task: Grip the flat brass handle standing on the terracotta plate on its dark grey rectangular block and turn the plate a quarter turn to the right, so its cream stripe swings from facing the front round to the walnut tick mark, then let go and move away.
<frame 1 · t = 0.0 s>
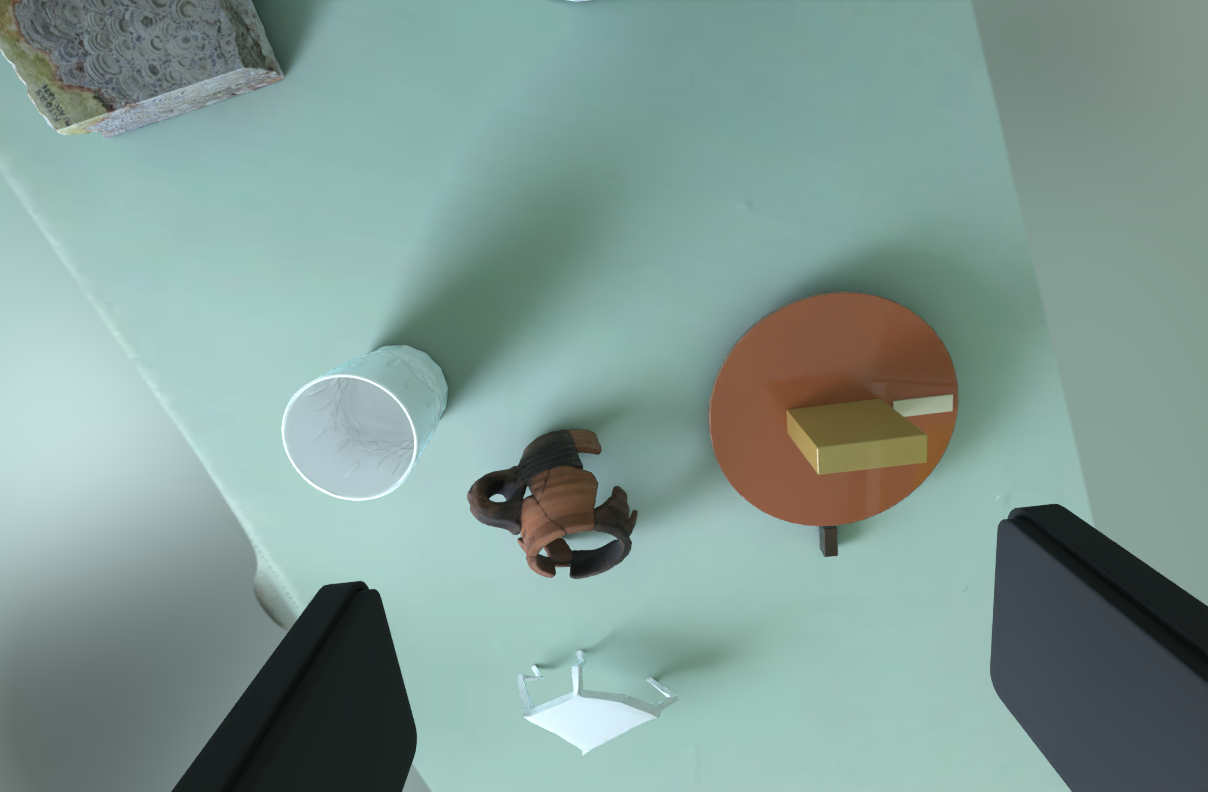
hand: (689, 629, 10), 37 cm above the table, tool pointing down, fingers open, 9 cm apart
pottery mug: (557, 484, 50), on the table
origami figure: (601, 677, 55), on the table
geological specimen: (157, 26, 41), on the table
white cup: (403, 388, 47), on the table
dark grey rectangular block: (821, 404, 47), on the table
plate: (849, 432, 42), point 6 cm above the table, hinge at 0.0°
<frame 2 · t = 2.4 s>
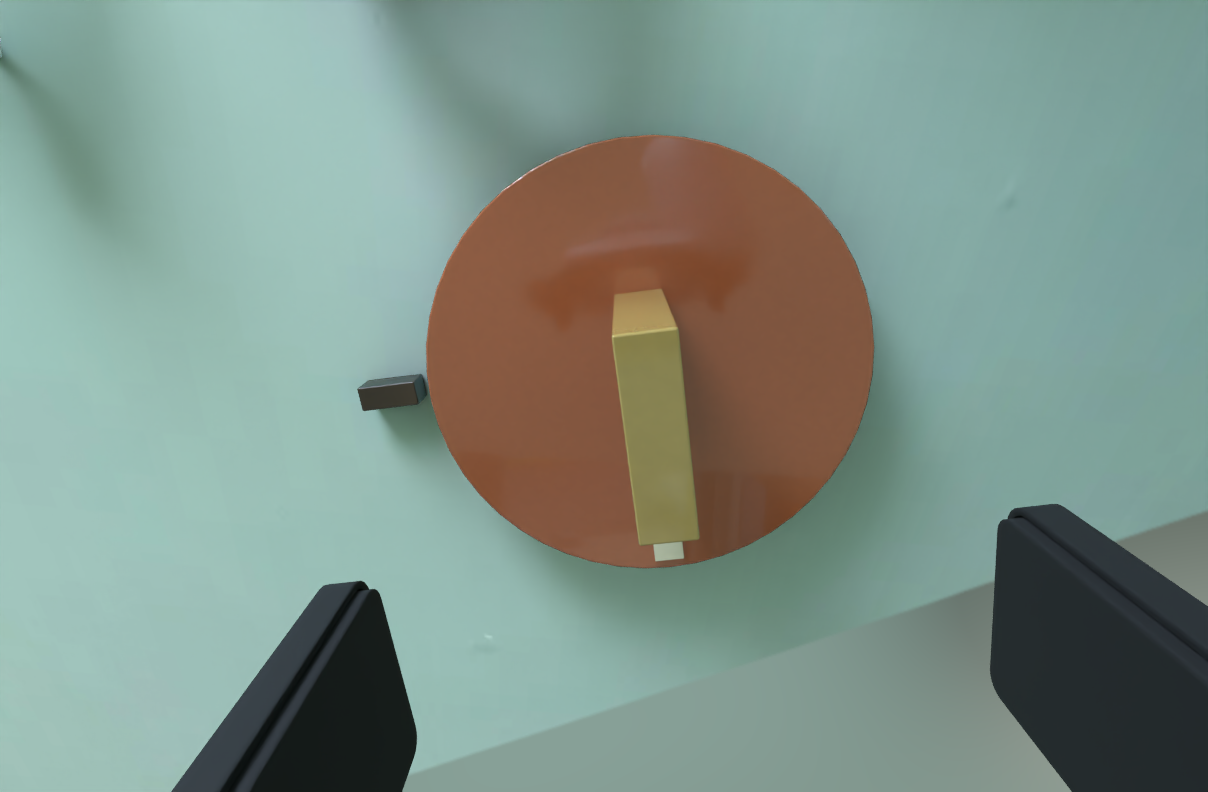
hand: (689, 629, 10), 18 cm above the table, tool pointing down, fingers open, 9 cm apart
dark grey rectangular block: (645, 357, 27), on the table
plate: (651, 400, 22), point 6 cm above the table, hinge at 0.0°
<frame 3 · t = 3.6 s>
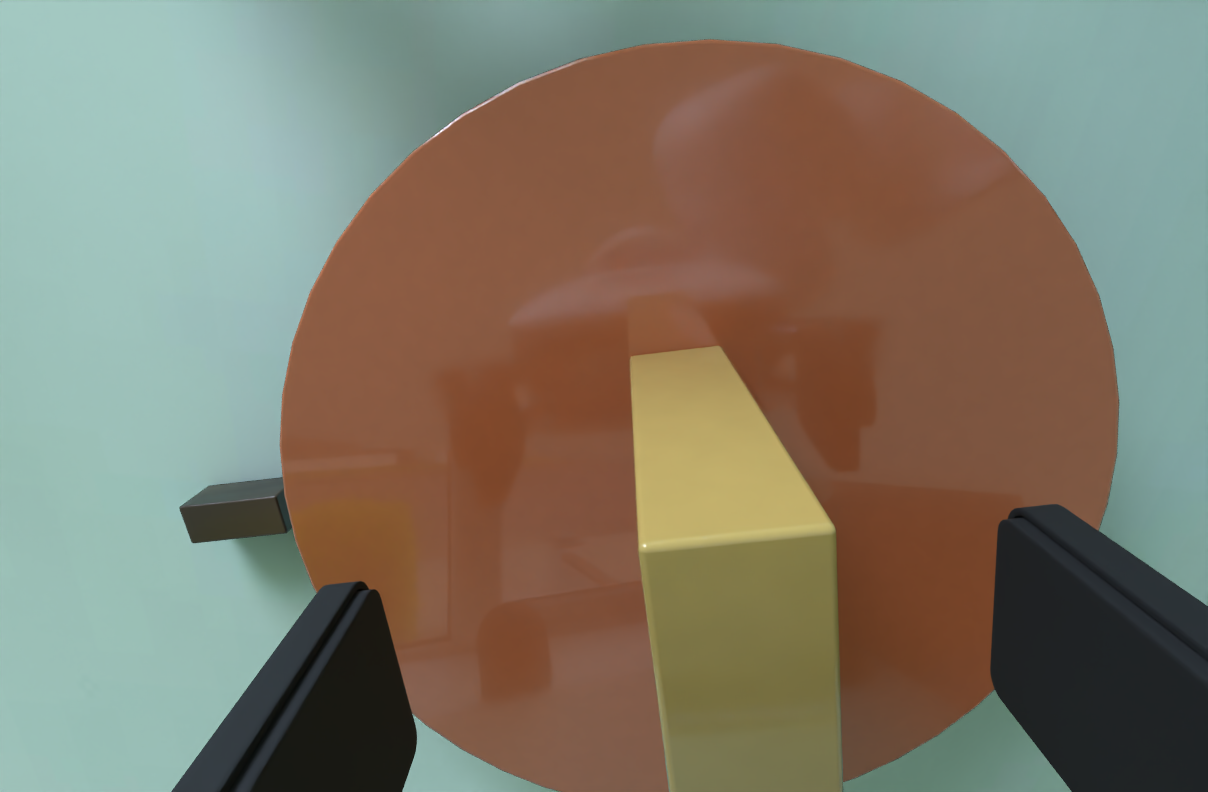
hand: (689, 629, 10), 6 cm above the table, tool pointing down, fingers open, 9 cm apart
dark grey rectangular block: (679, 451, 16), on the table
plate: (709, 589, 10), point 6 cm above the table, hinge at 0.0°
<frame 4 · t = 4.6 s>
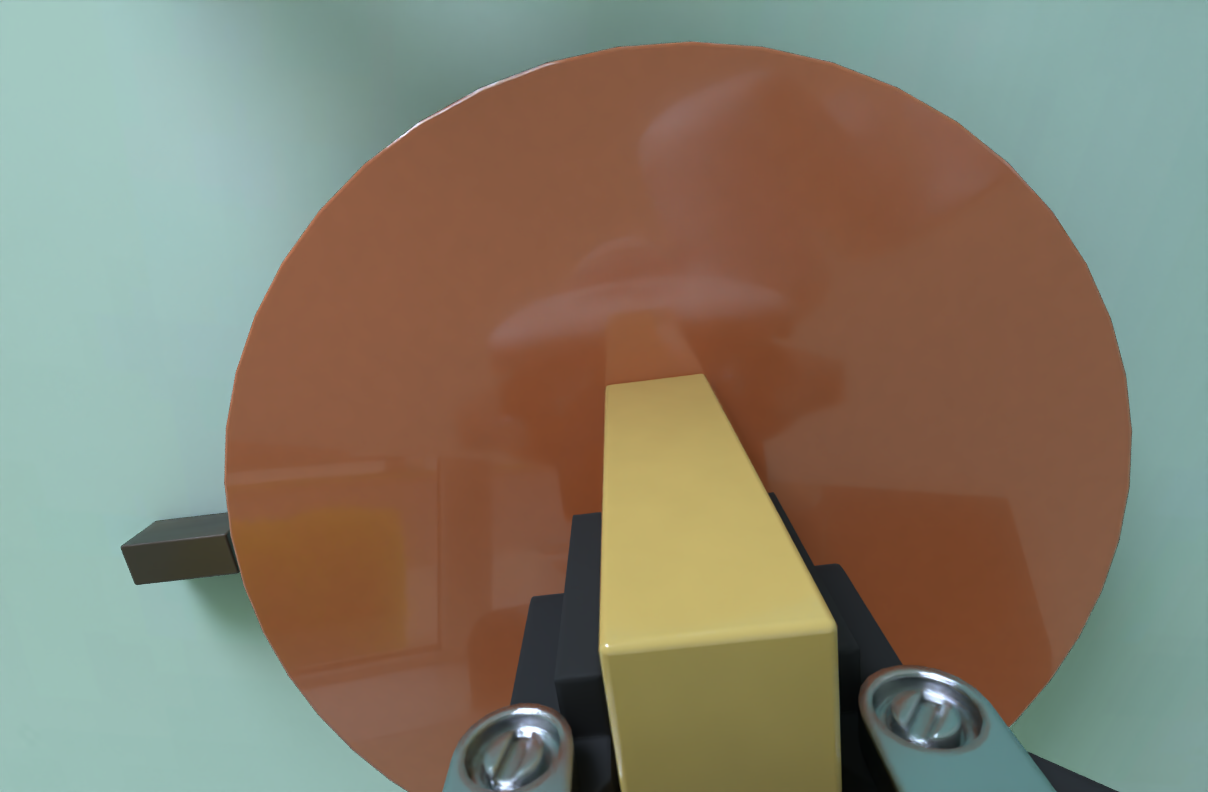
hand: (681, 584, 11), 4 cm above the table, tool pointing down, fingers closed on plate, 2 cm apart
dark grey rectangular block: (662, 480, 15), on the table
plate: (692, 648, 9), point 6 cm above the table, hinge at 0.0°, touching gripper
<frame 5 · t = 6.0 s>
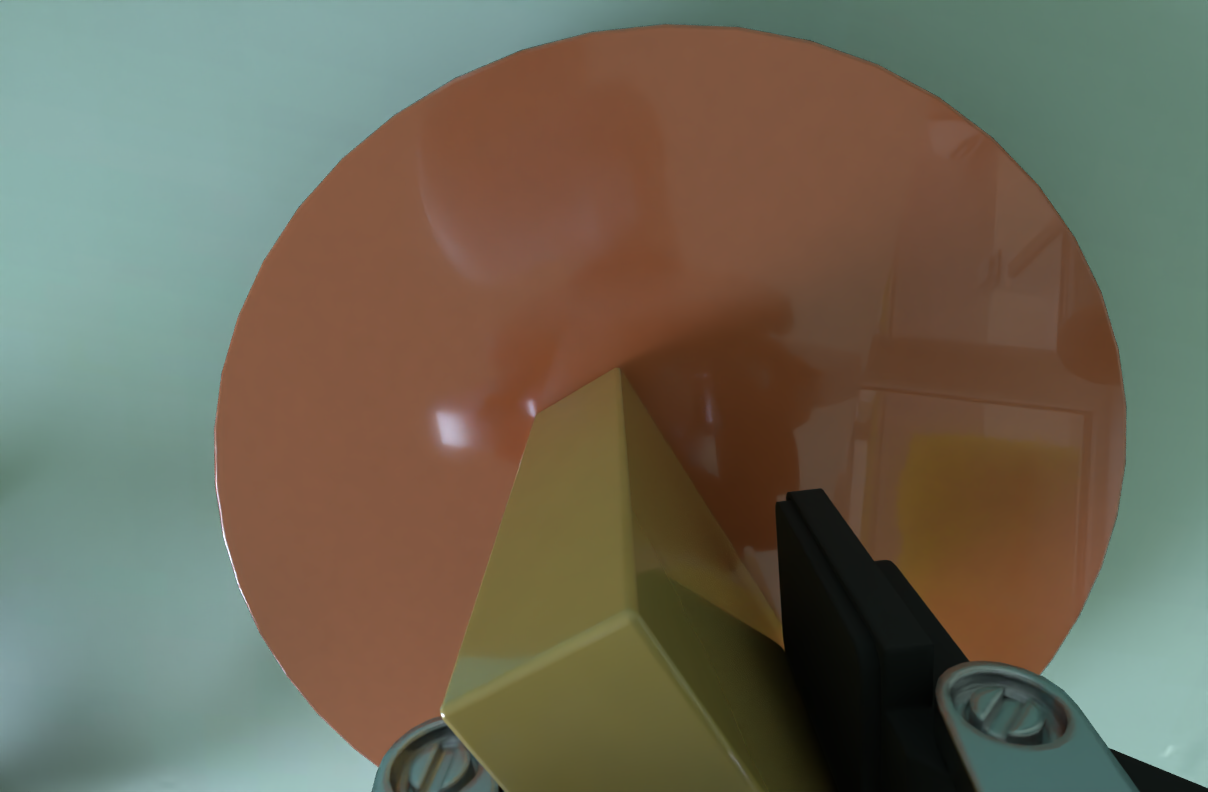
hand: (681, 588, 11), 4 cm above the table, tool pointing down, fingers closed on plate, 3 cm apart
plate: (684, 636, 9), point 6 cm above the table, hinge at -63.3°, touching gripper
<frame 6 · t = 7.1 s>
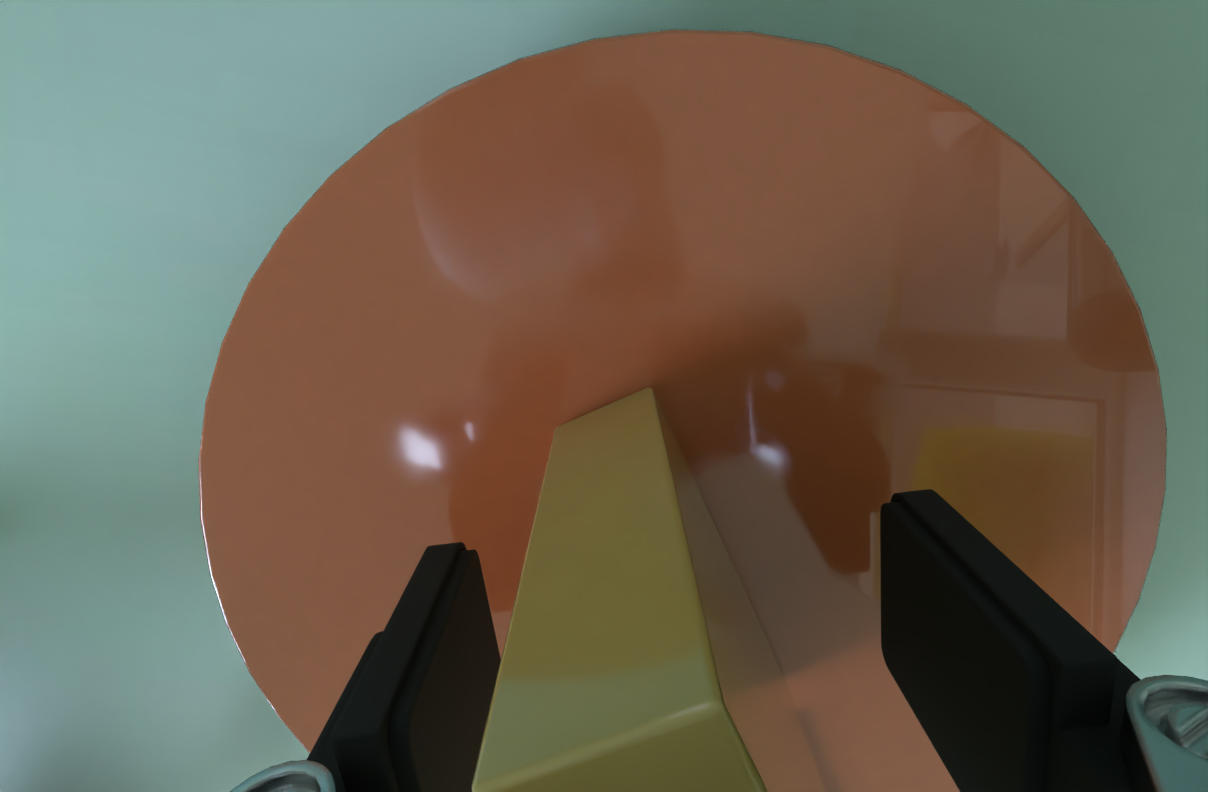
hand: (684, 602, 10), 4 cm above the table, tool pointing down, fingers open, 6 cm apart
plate: (699, 688, 9), point 6 cm above the table, hinge at -72.1°
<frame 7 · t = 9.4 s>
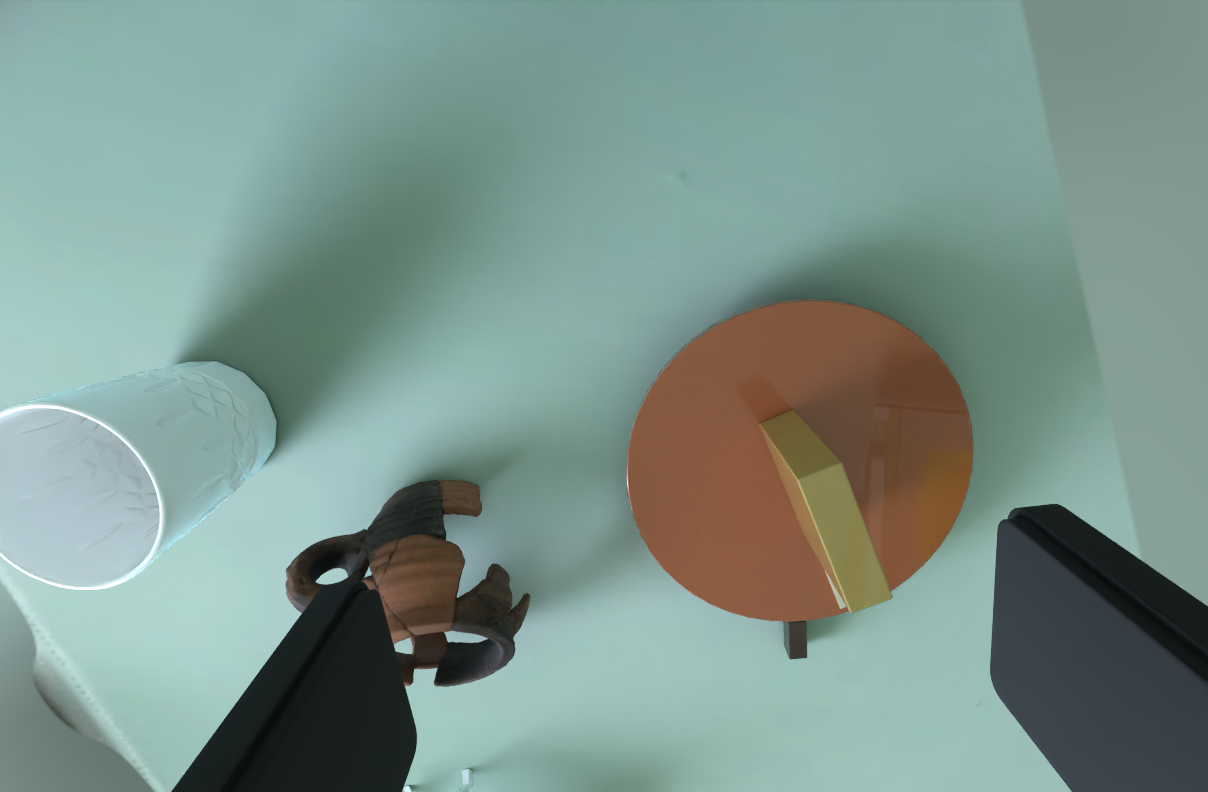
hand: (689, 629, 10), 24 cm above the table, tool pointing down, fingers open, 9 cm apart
pottery mug: (431, 552, 37), on the table
white cup: (218, 420, 35), on the table
dark grey rectangular block: (785, 453, 35), on the table
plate: (817, 499, 29), point 6 cm above the table, hinge at -72.1°
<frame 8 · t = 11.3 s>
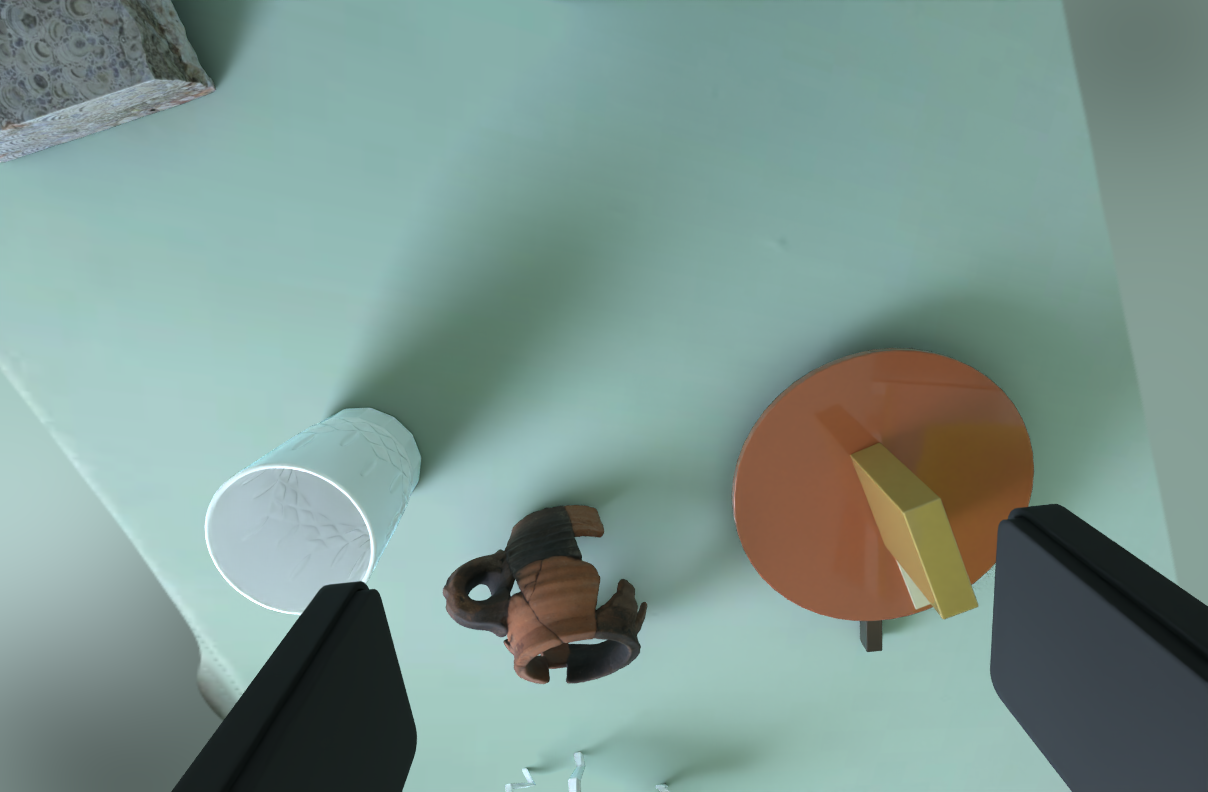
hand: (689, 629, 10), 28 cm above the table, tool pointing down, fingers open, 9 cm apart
pottery mug: (552, 566, 42), on the table
origami figure: (603, 781, 47), on the table
geological specimen: (59, 26, 33), on the table
white cup: (368, 457, 40), on the table
dark grey rectangular block: (865, 476, 40), on the table
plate: (906, 521, 34), point 6 cm above the table, hinge at -72.1°
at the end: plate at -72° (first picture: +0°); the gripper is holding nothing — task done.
